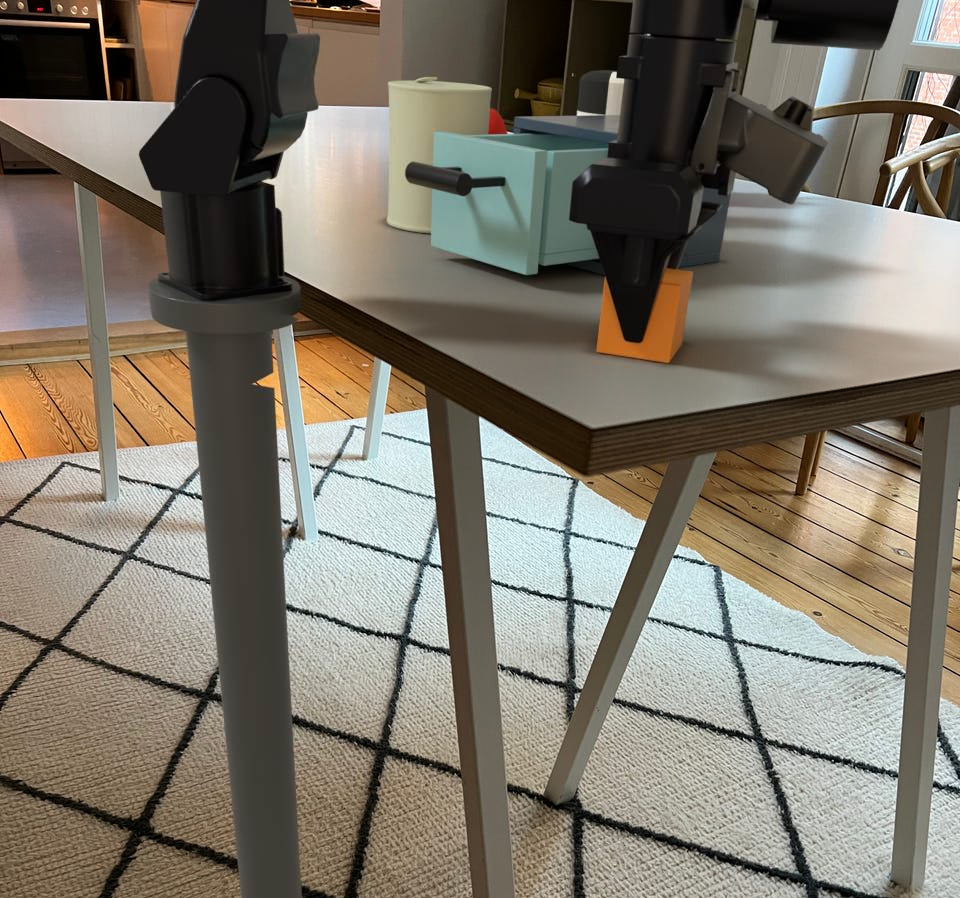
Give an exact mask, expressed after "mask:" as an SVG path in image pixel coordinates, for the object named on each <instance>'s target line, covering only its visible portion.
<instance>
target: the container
mask: <svg viewBox="0 0 960 898" xmlns="http://www.w3.org/2000/svg"><path fill="white" fill-rule="evenodd" d="M616 74H617V70H611V69H609V70H606V69H605V70H603V69H601V70H590V71H589V72H587V73H584V74H583V75H582V76H581V77H580V78H579V88H578V97H577V98H578V99H577V109H576V116H591V115H620V112H621V103H622V95H623V86H624V79H621V78H616Z"/></svg>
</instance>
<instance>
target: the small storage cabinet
mask: <svg viewBox="0 0 960 898" xmlns="http://www.w3.org/2000/svg"><path fill="white" fill-rule="evenodd" d="M619 121H620V115H591V116H577V115H540V116H538V115H535V116H534V115H531V116H528V115H527V116H514V122H513V134H529V133H549V134H555V135H561V136H566V137H572V138H578V139H584V140H590V141H595V142H601V143H607V144H609V142H611V141H614V140H617V138H618V129H619ZM731 195H732V192H731V193H730V194H729V195H728V196H723V195H718V189H710V188H704V190H703V196H702V201H706V202H715V203H720V204H722V205H723V206H722V207H721V209H720V210H719V211H718V212H717V213H716V214H715V215H714V216H712V217H711V218H710V219H709V220H708V221H706V222H705V223H704V224H703V225H702V227H701V229H700V230H699V231H698V232H697V233H696V234H695V235H694V236H693V237H692V238H691V239H689V242H688V244H687V247H686V249H685V252H684V255H683V257H682V260H681V263H680V265H679V268H684V267H690V266H696V265H703V264H710V263H718V262H720V258H721V252H722V247H723V241H724V236H725V229H726V223H727V218H728V212H729V207H730V201H731ZM562 264H564V265H567V266H571V267H574V268H578V269H581V270H585V271H588V272H592V273H595V274H599V275H603V276H605V273H604V270H603V267H602V264H601V261H600V258H599V259H592V260H584V261H577V262H569V263H562Z"/></svg>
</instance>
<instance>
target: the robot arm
mask: <svg viewBox="0 0 960 898" xmlns="http://www.w3.org/2000/svg"><path fill="white" fill-rule="evenodd" d="M899 1H900V0H755V3H754V10H753V11H754V12H753V20H754V21H763V22H764V21H765V22H772V23H771V33H770V44H776V45H777V44H778V45H792V46H807V47H808V46H809V47H821V48H822V47H823V48H836V49H837V48H838V49H852V50H853V49H854V50H864V51H865V50H868V51H880V50H881V49H882V48H883V47H884V44H885V43H886V41H887V38H888V36H889V33H890V31H891V28H892V24H893V21H894V19H895V15H896V12H897V9H898V5H899ZM743 6H744V0H632V9H631V16H630V17H631V19H630V25H629V33H630V34H629V35H628V43H627V52H626V55H620V56H617V65H616V71H617V74H616V78H621V79H624V86H623V95H622V103H621V112H620V121H619V129H618V138H617V140H614V141H611V142H609V146H608V155H607V158H605V159H603V160H600V161H598V162H595V163H593V164H591V165H590V166H589V167H588V168H587V169H586V170H585V171H584V172H583V173H582V174H581V175H579V176H578V177H577V178H576V179H575V180H574V181H573V182H572V193H571V203H570V214H569V220H570V221H572V222H575V223H580V224H586V227H587V229H588V230H590V231H591V234H592V237H593V240H594V243H595V246H596V249H597V252H598V255H599V258H600V261H601V264H602V267H603V270H604V273H605V275H604V278H605V277H606V280H607V283H608V286H609V290H610V293H611V297H612V300H613V303H614V307H615V310H616V314H617V317H618V321H619V324H620V327H621V331H622V334H623V338H624V340H625V341H627V342H633V343H641V342H642V341H643V340H644V337H645V334H646V331H647V328H648V325H649V322H650V319H651V316H652V313H653V309H654V306H655V303H656V300H657V297H658V293H659V290H660V287H661V284H662V281H663V278H664V274H665V271H666V268H669V269H677V270H679V268H680V267H679V265H680V263H681V260H682V257H683V255H684V252H685V249H686V247H687V244H688V242H689V239H691V238H692V237H693V236H694V235H695V234H696V233H697V232H698V231H699V230H700V229H701V227H702V225H703V224H704V223H705V222H706V221H708V220H709V219H710V218H711V217H712V216H714V215H715V214H716V213H717V212H718V211H719V210H720V209H721V207H722V206H723V205H722V204H720V203H715V202H706V201H702V196H703V190H704V188H710V189H718V195H723V196H728V195H729V194H730V193H731V194H732V192H733V191H734V187H735V186H734V185H735V179H736V174H737V175H740V176H742V177H743V178H746V179H748V180H749V181H751V182H753V183H755V184H756V185H758V186H759V187H763V188H764V189H765V190H767V193H768V195H769V196H770V197H772V198H774V199H776V200H778V201H780V202H783V203H785V204H788V205H793V204H795V202H796V201H797V198H798V197H799V195H800V194H801V192H802V190H803V188H805V187H804V186H805V185H806V183H807V181H808V180H809V178H810V177H811V174H812V172H813V171H814V169H815V167H816V166H817V164H818V163H819V160H820V159H821V157H822V155H823V154H824V151H825V149H826V148H827V146H828V145H829V141H828V140H827V139H825V138H824V136H823V135H821V134H819V133H815V132H813V123H814V113H815V112H814V111H815V107H813V106H812V105H810V104H808V103H806V102H805V101H802V100H800V99H799V98H797V97H794V96H790V97H789V98H787V99H785V101H783V102H782V103H781V104H779V105H778V106H777V107H776V108H774V109H773V110H772V109H769V108H768V107H767V106H766V105H764V104H763V103H760V104H759V103H757V102H755V101H753V100H751V99H749V98H747V97H746V96H744V95H741V94H740V87H741V82H742V75H743V69H740V68H739V69H738V67H739V62H734V60H735V54H736V48H737V40H738V36H739V31H740V25H741V19H742V18H741V17H742V13H743ZM294 16H295V15H294V12H293V9H292V5H291V0H195V3H194V6H193V9H192V11H191V14H190V16H189V20H188V22H187V25H186V28H185V31H184V33H183V36H182V42H181V47H180V48H181V49H180V55H179V62H178V69H177V74H176V75H177V76H176V83H175V88H174V101H173V102H174V103H173V104H174V108H173V110H171V112H170V113H169V115H167V116H166V117H165V119H164V121H163V122H161V124H160V125H159V126H158V128H156V130H154V132H153V134H152V135H151V136H150V137H149V138H148V140H146V142H144V143H145V144H144V145H143V146H142V147H141V148H140V149H139V151H138V157H139V161H140V163H141V166H142V168H143V170H144V172H145V175H146V178H147V180H148V182H149V184H150V185H149V186H150V187H151V189H152V190H154V191H155V192H160V200H161V201H160V202H161V211H162V222H163V229H164V230H163V231H164V240H165V249H166V250H165V251H166V258H167V259H166V260H167V269H168V270H167V271H163V272H158V273H157V278H158V281H160V282H162V283H164V284H166V285H168V286H170V287H172V288H175V289H177V290H179V291H181V292H183V293H185V294H187V295H190V296H192V297H194V298H196V299H198V300H201V301H215V300H223V299H231V298H239V297H247V296H254V295H262V294H270V293H278V292H286V291H291V290H292V283H291V282H289V281H287V280H284V279H282V278H279V277H282V276H284V274H285V253H284V252H285V251H284V232H283V231H284V230H283V212H282V211H281V209H280V208H279V207H276V188H275V184H272V183H268V182H265V181H267V180H274V179H276V178H277V177H278V175H279V171H280V167H281V164H282V160H283V156H284V153H285V151H287V150H288V149H289V148H291V147H292V146H293V145H294V144H295V143H296V142H297V141H298V140H299V139H300V138H301V137H302V135H303V132H304V130H305V128H306V124H307V119H308V116H309V115H308V114H309V113H310V112H313V111H318V109H319V102H318V99H317V95H316V89H315V75H316V67H317V64H318V58H319V53H320V48H321V47H320V45H321V36H320V34H319V33H318V32H302V33H301V32H300V33H299V31H298V28H297V24H296V19H295V17H294Z"/></svg>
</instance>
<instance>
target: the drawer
mask: <svg viewBox="0 0 960 898" xmlns="http://www.w3.org/2000/svg"><path fill="white" fill-rule="evenodd" d="M608 146H609V144H607V143H601V142H595V141H590V140H584V139H578V138H572V137H566V136H561V135H555V134H549V133H529V134H514V133H507V134H494V135H460V134H455V133H450V132H434V150H433V166H432V165H428V164H423V163H419V162H410V163H409V164H408V165H407V167H406V170H405V177H406V179H407V181H408V182H409V183H411V184H415V185H419V186H423V187H427V188H431V189H432V222H431V233H430V247H432V248H435V249H439V250H443V251H446V252H449V253H452V254H456V255H457V256H458V255H459V256H461V257H465V258H468V259H471V260H475V261H478V262H482V263H484V264H487V265H491V266H495V267H498V268H501V269H505V270H508V271H511V272H514V273H517V274H520V275H525V276H530V275H537V274H538V272H539V265H541V266H542V267H543V266H544V267H547V266H554V265H560V264H563V263H569V262H577V261H584V260H592V259H599V255H598V252H597V249H596V246H595V243H594V240H593V237H592V234H591V231H590V230H588V229H587V227H586V224H580V223H575V222H572V221H570V220H569V214H570V203H571V193H572V182H573V181H574V180H575V179H576V178H577V177H578V176H579V175H581V174H582V173H583V172H584V171H585V170H586V169H587V168H588V167H589V166H590V165H591V164H593V163H595V162H598V161H600V160H603V159H605V158H607V155H608Z"/></svg>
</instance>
